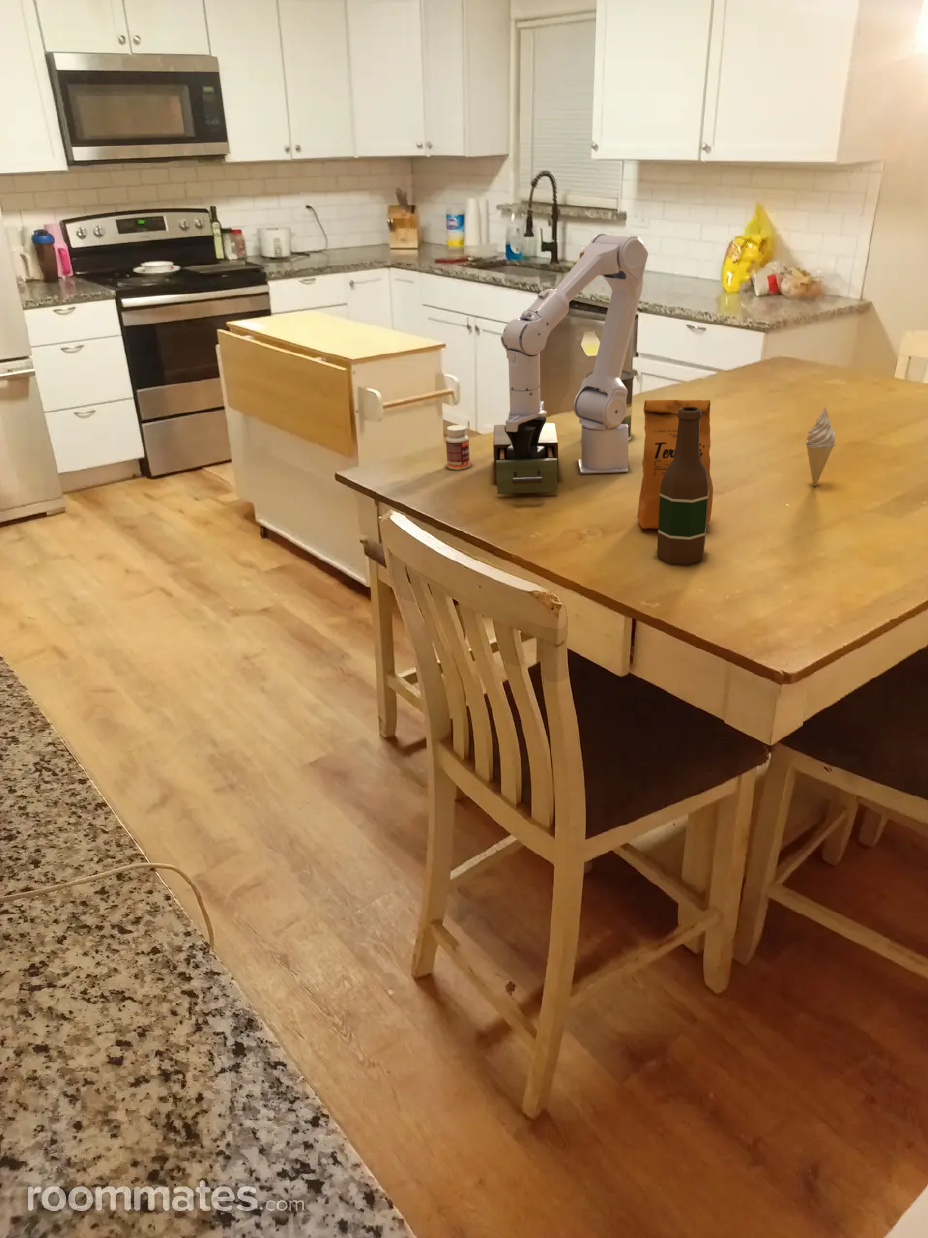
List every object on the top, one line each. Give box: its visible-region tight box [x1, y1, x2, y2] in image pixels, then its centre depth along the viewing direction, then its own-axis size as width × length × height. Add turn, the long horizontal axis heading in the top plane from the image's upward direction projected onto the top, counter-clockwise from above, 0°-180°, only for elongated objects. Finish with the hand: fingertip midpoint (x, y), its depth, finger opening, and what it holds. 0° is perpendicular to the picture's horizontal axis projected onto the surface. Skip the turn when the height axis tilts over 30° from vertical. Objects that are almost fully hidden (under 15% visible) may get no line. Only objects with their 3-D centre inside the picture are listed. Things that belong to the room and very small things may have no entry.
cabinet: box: [492, 422, 559, 485], centre depth 186 cm, size 14×13×8 cm
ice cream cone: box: [805, 406, 836, 487], centre depth 169 cm, size 5×5×15 cm
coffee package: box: [637, 399, 714, 530], centre depth 154 cm, size 10×12×22 cm
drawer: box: [496, 446, 558, 495], centre depth 176 cm, size 17×11×6 cm, turn 178°
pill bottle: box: [445, 424, 471, 471], centre depth 191 cm, size 5×5×8 cm
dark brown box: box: [507, 445, 545, 460], centre depth 175 cm, size 6×4×4 cm, turn 65°
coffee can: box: [585, 369, 635, 441], centre depth 202 cm, size 10×10×14 cm
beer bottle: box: [656, 406, 709, 566], centre depth 142 cm, size 8×8×24 cm
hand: (526, 458), depth 176 cm, fingers closed on dark brown box, 3 cm apart
